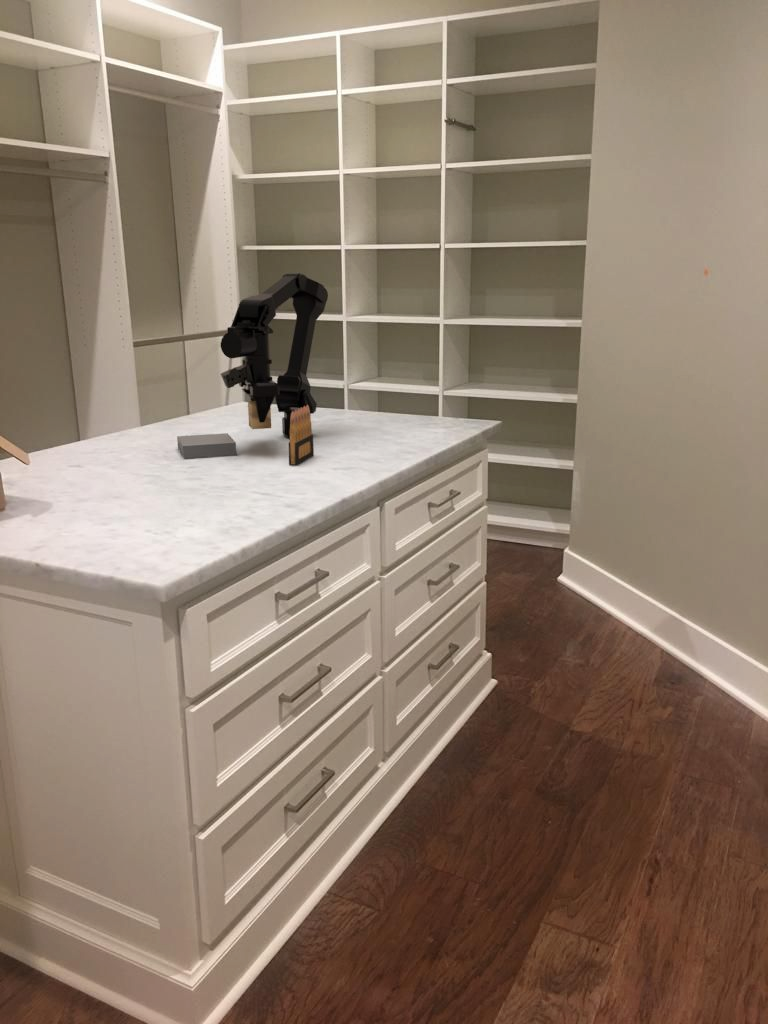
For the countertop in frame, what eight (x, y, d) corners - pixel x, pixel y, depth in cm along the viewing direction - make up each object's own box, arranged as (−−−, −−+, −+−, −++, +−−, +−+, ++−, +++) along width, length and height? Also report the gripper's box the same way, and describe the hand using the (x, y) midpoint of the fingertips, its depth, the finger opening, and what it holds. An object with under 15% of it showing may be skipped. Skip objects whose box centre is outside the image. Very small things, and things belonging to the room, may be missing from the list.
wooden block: (267, 424, 205) (266, 400, 203) (271, 428, 201) (270, 402, 199) (248, 425, 203) (247, 401, 202) (252, 429, 199) (251, 403, 197)
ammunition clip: (296, 465, 186) (295, 411, 182) (288, 465, 186) (287, 411, 183) (313, 455, 196) (312, 404, 192) (306, 455, 196) (305, 403, 193)
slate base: (228, 445, 207) (227, 433, 206) (236, 455, 196) (235, 442, 195) (177, 448, 203) (177, 436, 202) (183, 458, 192) (182, 446, 191)
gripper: (216, 351, 203) (219, 416, 207) (229, 359, 186) (232, 429, 190) (262, 350, 207) (264, 413, 211) (279, 358, 190) (281, 426, 194)
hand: (259, 420), depth 202 cm, fingers closed on wooden block, 4 cm apart
